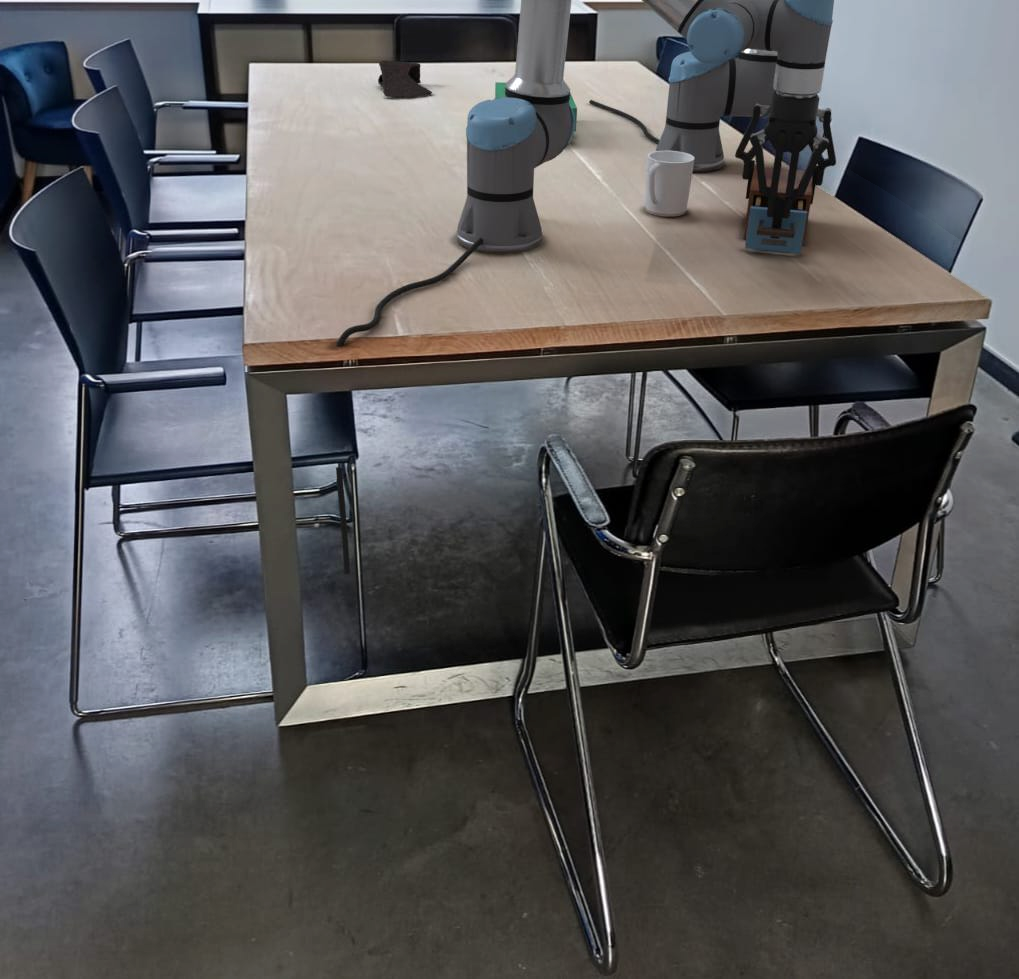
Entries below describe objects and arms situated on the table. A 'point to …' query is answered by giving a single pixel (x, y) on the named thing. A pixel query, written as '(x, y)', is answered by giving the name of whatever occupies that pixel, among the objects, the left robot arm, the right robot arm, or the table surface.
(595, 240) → the table surface
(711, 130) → the right robot arm
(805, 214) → the drawer
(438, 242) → the table surface
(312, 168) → the table surface
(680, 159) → the mug
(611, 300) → the table surface
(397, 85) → the axe head
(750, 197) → the cabinet
